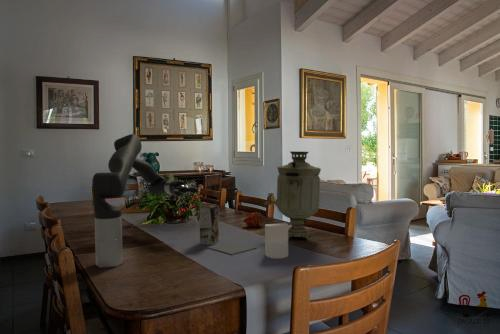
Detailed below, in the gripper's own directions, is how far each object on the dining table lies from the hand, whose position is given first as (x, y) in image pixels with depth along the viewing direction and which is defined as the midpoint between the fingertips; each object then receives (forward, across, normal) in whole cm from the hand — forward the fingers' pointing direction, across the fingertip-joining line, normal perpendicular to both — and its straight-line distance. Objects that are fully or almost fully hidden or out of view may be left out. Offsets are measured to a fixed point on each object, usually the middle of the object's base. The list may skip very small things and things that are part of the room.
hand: (196, 190), depth 177 cm
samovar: (+30, +33, +23) cm, 50 cm away
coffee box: (+9, 0, +23) cm, 24 cm away
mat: (+24, 0, +22) cm, 33 cm away
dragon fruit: (-1, +38, +23) cm, 44 cm away
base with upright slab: (+45, +5, +22) cm, 50 cm away
